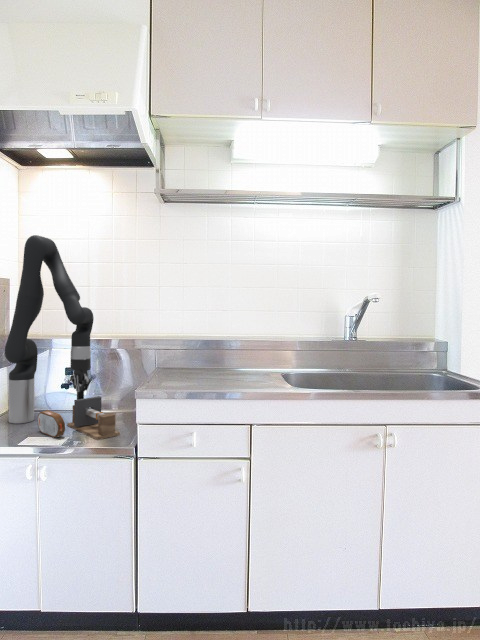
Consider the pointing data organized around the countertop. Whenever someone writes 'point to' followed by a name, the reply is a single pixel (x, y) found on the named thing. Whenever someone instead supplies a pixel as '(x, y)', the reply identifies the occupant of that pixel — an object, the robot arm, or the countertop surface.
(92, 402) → the dark grey square plate
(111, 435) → the rod stand
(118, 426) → the countertop surface
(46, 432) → the tin
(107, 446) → the countertop surface
